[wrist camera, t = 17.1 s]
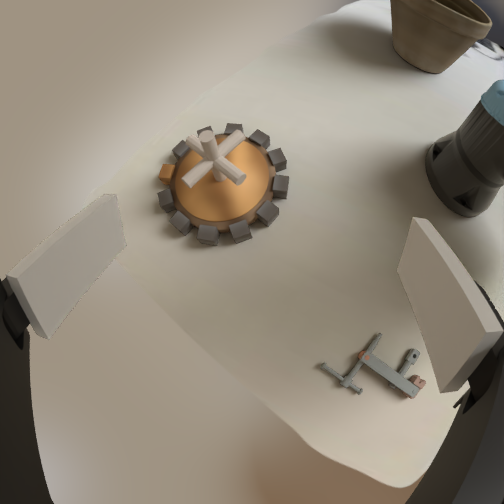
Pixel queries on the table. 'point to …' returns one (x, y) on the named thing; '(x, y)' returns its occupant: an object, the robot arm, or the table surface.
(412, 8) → the plant pot
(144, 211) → the table surface
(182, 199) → the sprocket wheel
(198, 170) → the pipe connector
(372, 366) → the clamp
